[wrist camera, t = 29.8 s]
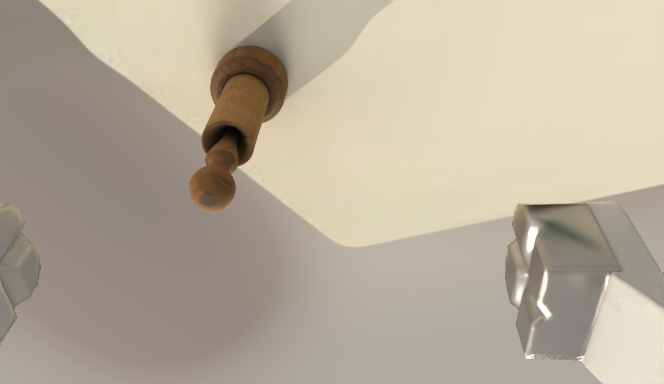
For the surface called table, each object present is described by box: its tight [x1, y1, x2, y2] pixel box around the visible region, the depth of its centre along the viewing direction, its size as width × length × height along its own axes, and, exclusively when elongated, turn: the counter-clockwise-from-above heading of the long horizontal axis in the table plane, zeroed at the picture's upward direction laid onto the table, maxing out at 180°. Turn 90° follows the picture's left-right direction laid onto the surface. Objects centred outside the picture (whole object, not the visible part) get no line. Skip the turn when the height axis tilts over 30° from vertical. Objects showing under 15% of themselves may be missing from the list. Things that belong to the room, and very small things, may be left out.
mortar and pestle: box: [189, 46, 288, 211], centre depth 46 cm, size 7×6×18 cm
